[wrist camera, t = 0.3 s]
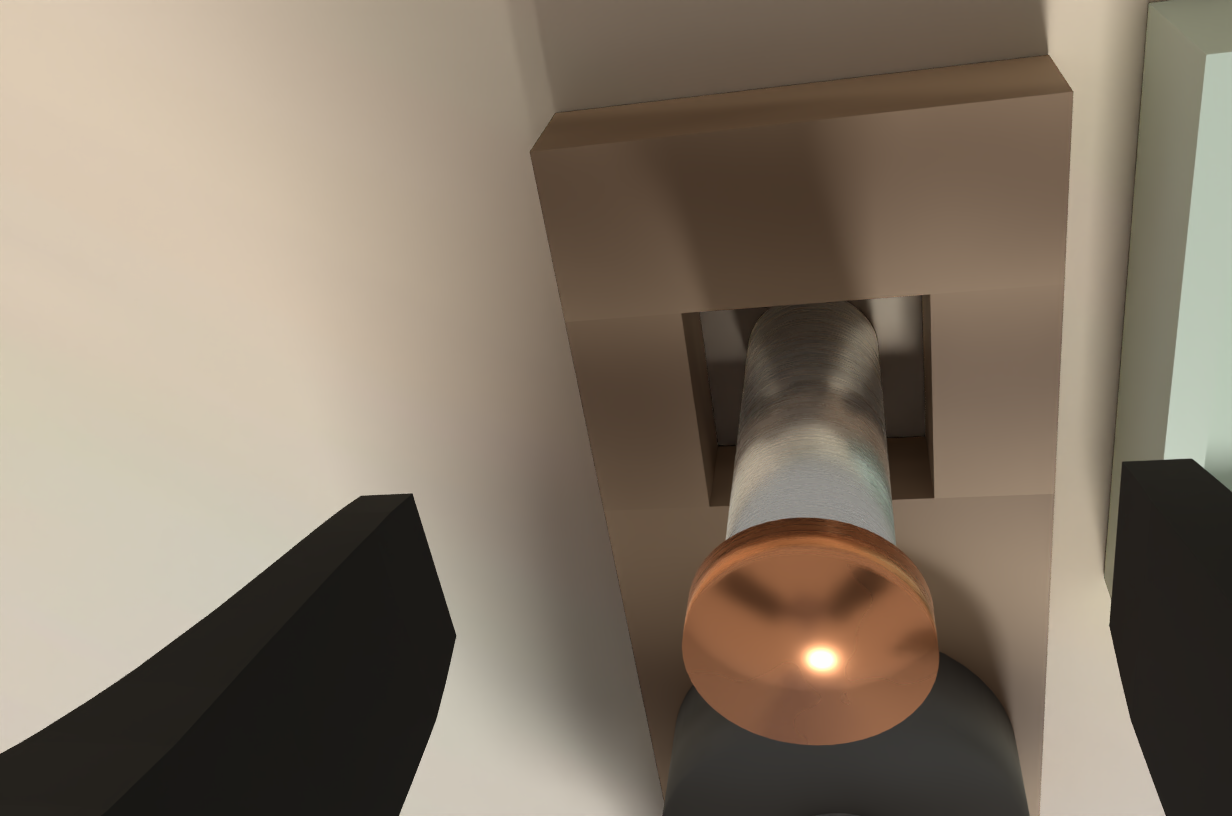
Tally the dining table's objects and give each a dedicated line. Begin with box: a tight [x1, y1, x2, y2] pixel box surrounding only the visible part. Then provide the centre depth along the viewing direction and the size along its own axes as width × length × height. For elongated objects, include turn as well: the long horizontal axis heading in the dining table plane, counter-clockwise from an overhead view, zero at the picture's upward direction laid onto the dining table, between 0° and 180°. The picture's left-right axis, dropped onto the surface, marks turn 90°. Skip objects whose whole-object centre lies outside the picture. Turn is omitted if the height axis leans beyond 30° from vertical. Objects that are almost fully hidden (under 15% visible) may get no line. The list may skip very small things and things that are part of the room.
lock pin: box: [682, 301, 939, 745], centre depth 17 cm, size 3×3×8 cm
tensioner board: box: [530, 55, 1073, 816], centre depth 20 cm, size 18×8×6 cm, turn 9°
